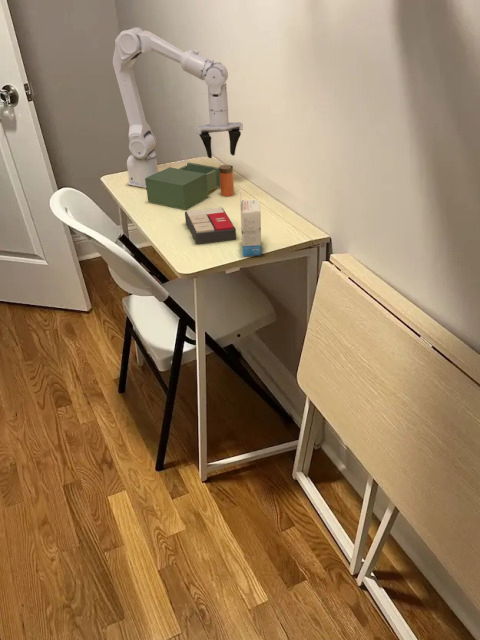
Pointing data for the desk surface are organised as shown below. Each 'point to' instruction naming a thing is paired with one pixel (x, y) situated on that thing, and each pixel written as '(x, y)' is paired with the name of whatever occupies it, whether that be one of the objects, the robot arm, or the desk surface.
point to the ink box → (250, 227)
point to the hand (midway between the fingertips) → (221, 156)
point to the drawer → (210, 171)
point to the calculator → (210, 225)
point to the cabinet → (177, 188)
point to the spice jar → (226, 180)
